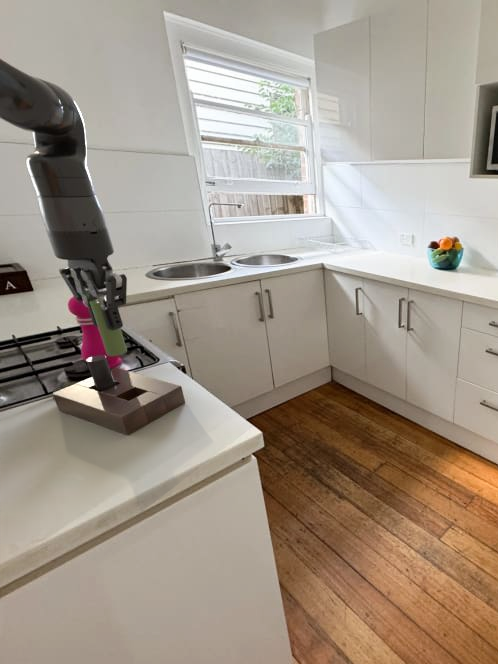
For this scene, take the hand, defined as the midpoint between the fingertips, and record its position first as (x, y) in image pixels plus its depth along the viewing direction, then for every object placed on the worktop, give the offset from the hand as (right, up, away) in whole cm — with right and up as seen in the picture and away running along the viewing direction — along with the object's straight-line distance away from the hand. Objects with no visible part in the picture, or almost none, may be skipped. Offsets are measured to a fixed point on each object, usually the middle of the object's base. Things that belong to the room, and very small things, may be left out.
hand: (109, 326), depth 67 cm
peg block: (-4, -16, +9) cm, 19 cm away
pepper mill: (-19, -9, +23) cm, 31 cm away
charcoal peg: (-8, -15, +10) cm, 20 cm away
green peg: (0, -5, +2) cm, 5 cm away
